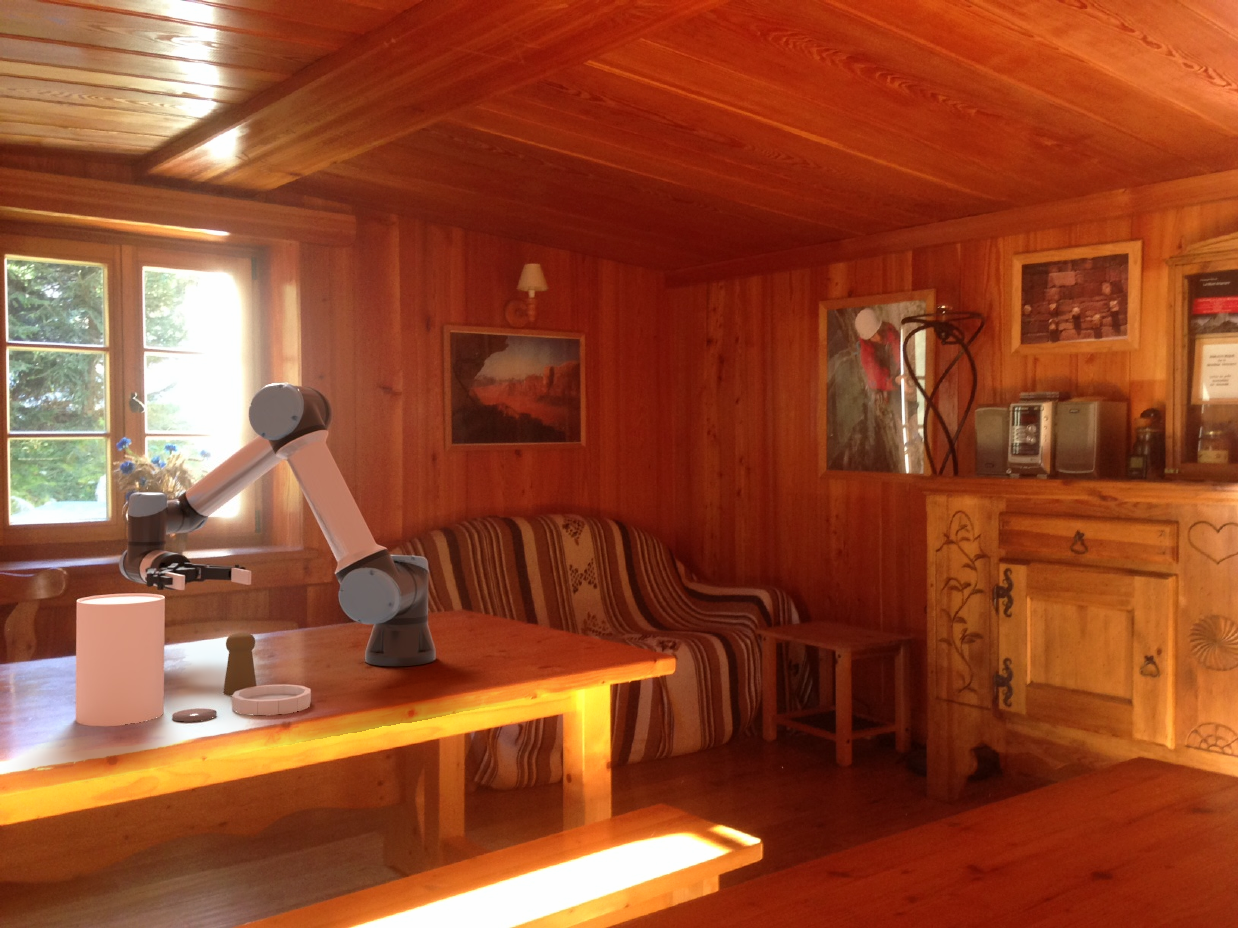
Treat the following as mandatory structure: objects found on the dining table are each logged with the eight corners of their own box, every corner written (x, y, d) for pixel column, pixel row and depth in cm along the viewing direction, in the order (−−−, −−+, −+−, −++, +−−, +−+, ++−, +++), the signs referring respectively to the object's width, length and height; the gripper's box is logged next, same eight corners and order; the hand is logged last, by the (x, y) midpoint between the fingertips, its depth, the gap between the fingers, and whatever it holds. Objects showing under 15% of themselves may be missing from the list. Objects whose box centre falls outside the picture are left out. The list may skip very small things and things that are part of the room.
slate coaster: (219, 711, 181) (219, 707, 181) (213, 721, 175) (213, 717, 175) (176, 712, 180) (176, 709, 180) (168, 722, 173) (168, 719, 173)
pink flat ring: (312, 696, 193) (312, 683, 193) (307, 713, 180) (307, 699, 180) (238, 699, 190) (238, 685, 190) (227, 716, 177) (228, 702, 177)
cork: (245, 696, 193) (246, 636, 193) (216, 694, 194) (216, 635, 194) (263, 689, 199) (263, 631, 199) (234, 687, 200) (235, 630, 200)
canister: (72, 729, 168) (73, 605, 168) (78, 710, 181) (79, 595, 181) (163, 721, 174) (164, 602, 174) (163, 703, 186) (164, 592, 186)
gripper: (223, 583, 226) (274, 594, 212) (104, 592, 207) (152, 605, 193) (224, 549, 226) (275, 557, 212) (105, 555, 207) (153, 564, 193)
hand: (217, 580), depth 202 cm, fingers open, 13 cm apart
